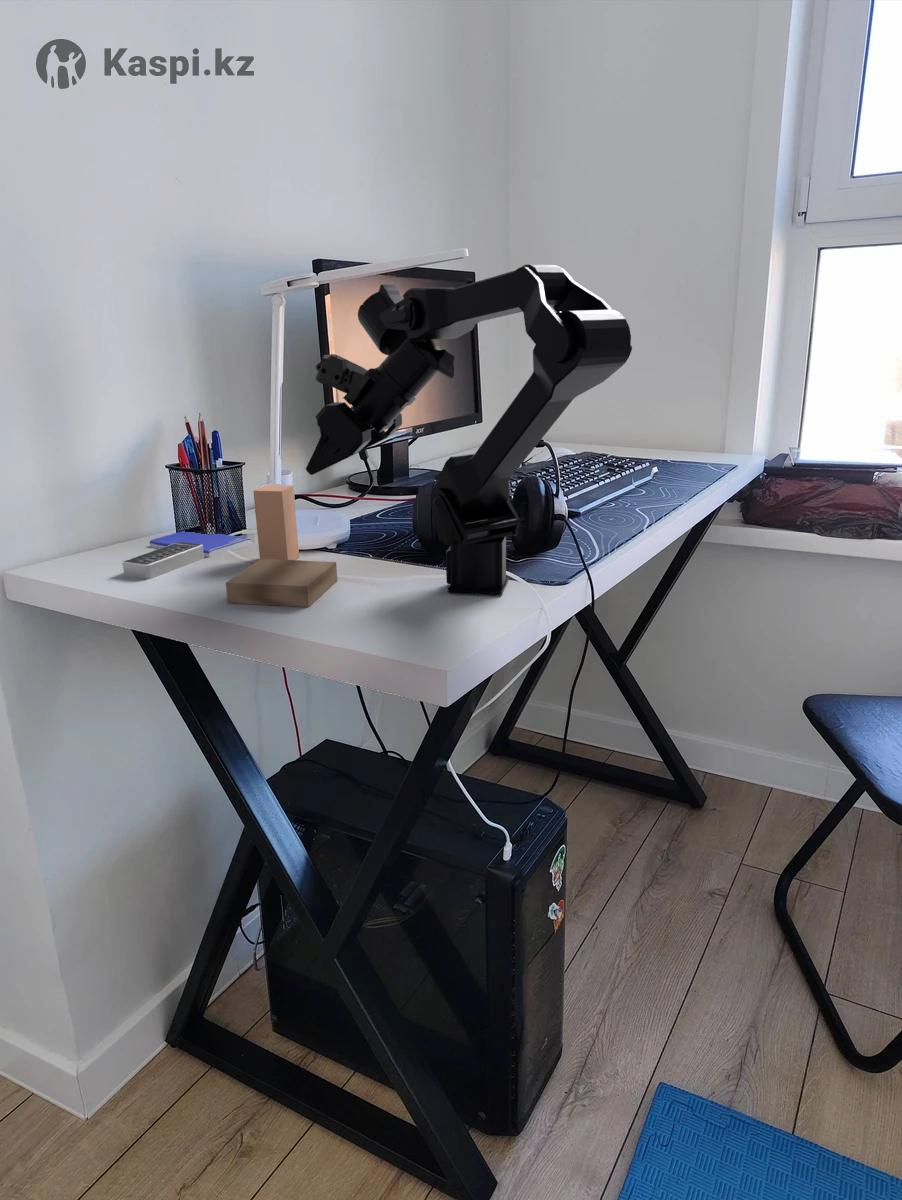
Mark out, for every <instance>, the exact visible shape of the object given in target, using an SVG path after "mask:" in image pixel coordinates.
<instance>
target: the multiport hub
mask: <svg viewBox="0 0 902 1200" xmlns="http://www.w3.org/2000/svg"><path fill="white" fill-rule="evenodd" d="M203 559H205V557H204V551H203V545H202V544H195V543H186V542H177V543H174V544H171V545H169V546H166V547H163V548H156V549H154V550H151V551H149V552H145V553H143V554H140V555H138V556H135V557H132V558H129V559H126V560H124V561H122V568H123V574H124V577H126V578H127V577H128V578H133V579H141V580H153V579H155V578H157V577H159V576H162V575H164V574H168V573H171V572H173V571H175V570H178V569H180V568H182V567H185V566H188V565H191V564H193V563H196V562H198V561H201V560H203Z"/></svg>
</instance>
